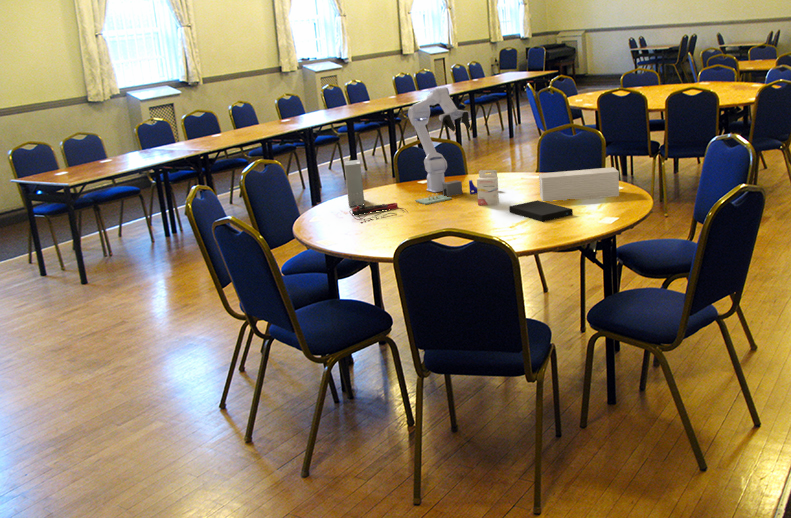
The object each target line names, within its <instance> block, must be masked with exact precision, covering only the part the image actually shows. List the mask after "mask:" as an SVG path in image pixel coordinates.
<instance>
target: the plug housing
mask: <svg viewBox="0 0 791 518" xmlns="http://www.w3.org/2000/svg"><path fill="white" fill-rule="evenodd" d="M462 183H463V182H462V181H461V180H452V181H445V183H442V188H443V191H442V195H443V196H444V195H445V196H449V197H452V195H454V196H458V194H459V195H463V185H462Z"/></svg>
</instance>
